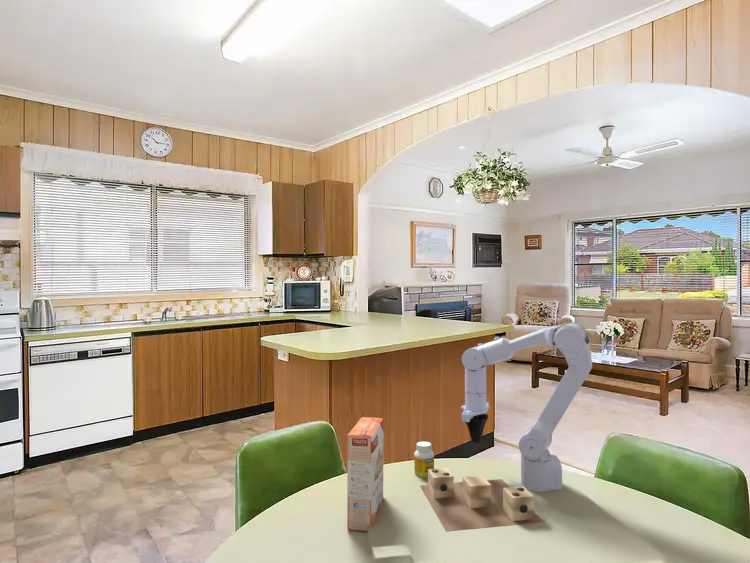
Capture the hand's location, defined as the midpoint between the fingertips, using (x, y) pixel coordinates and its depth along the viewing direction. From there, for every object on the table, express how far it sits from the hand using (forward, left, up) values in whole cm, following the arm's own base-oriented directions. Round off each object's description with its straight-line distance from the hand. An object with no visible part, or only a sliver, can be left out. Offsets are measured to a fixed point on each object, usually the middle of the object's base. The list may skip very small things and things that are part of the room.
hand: (476, 441), depth 127 cm
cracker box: (+32, +15, -10) cm, 37 cm away
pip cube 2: (-1, +23, -8) cm, 24 cm away
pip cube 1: (+13, +10, -8) cm, 18 cm away
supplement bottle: (+14, -2, -10) cm, 17 cm away
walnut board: (+6, +16, -10) cm, 20 cm away
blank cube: (+6, +16, -8) cm, 19 cm away
